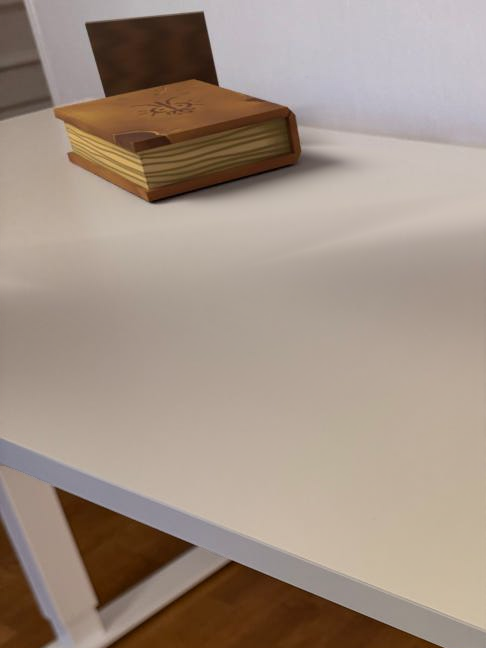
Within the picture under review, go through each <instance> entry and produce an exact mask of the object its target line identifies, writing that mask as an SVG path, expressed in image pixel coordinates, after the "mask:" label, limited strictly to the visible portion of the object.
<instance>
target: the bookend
mask: <svg viewBox="0 0 486 648" xmlns="http://www.w3.org/2000/svg"><path fill="white" fill-rule="evenodd" d="M84 26H85V30H86V32H87V33H86V34H87V37H88V40H89V44H90V47H91V51H92V55H93V58H94V63H95V65H96V69H97V72H98V76H99V80H100V83H101V87H102V90H103V93H104V98H106V97H111V96H116V95H121V94H126V93H130V92H135V91H140V90H145V89H149V88H154V87H159V86H164V85H169V84H173V83H178V82H183V81H188V80H192V79H195V80H198V81H202V82H205V83H209V84H212V85H215V86H219V87H221V86H220V83H219V78H218V72H217V68H216V67H217V66H216V63H215V58H214V53H213V48H212V44H211V39H210V34H209V29H208V25H207V19H206V15H205V11H204V10H199V11H197V10H196V11H189V12H187V11H186V12H178V13H168V14H166V13H165V14H157V15H156V14H155V15H146V16H136V17H123V18H114V19H104V20H103V19H102V20H92V21H85V22H84Z"/></svg>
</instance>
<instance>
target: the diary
mask: <svg viewBox="0 0 486 648" xmlns="http://www.w3.org/2000/svg"><path fill="white" fill-rule="evenodd" d="M219 86H220V85H219ZM219 86H215V85H212V84H209V83H205V82H202V81H198V80H195V79H192V80H188V81H183V82H178V83H173V84H169V85H164V86H159V87H154V88H149V89H145V90H140V91H135V92H130V93H126V94H121V95H116V96H111V97H103V98H97V99H92V100H88V101H83V102H78V103H74V104H68V105H64V106H58V107H54V108H52V111H53V114H54V118H55V119H57V120H60V121H62V122H63V124H64V127H65V130H66V133H67V137H68V139H69V143H70V145H71V150H72V151H69V152H66V156H67V158H68V161H69V162H70V163H72V164H74V165H76V166H78V167H80V168H82V169H84V170H86V171H88V172H90V173H92V174H93V175H96V176H98V177H100V178H102V179H104V180H106V181H107V182H110V183H111V184H114V185H116V186H117V187H120V188H122V189H123V190H126V191H127V192H129V193H131V194H133V195H135V196H137V197H139V198H141V199H143V200H145V201H147V202H153V201H156V200H160V199H163V198H167V197H171V196H175V195H179V194H182V193H186V192H190V191H194V190H198V189H202V188H206V187H209V186H213V185H217V184H221V183H224V182H228V181H232V180H236V179H241V178H243V177H246V176H251V175H254V174H259V173H261V172H266V171H269V170H270V171H271V170H274V169H277V168H281V167H285V166H288V165H292V164H297V163H298V161H299V159H300V156H301V154H302V152H303V151H302V147H301V140H300V135H299V129H298V122H297V117H296V114H295V112H293V111H292V110H291V109H290V107H288V106H286V105H282V104H279V103H276V102H273V101H270V100H266V99H262V98H260V97H257V96H256V97H255V96H252V95H248V94H246V93H242V92H240V91H239V92H238V91H235V90H232V89H229V88H225V87H222V86H220V87H219Z"/></svg>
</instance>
